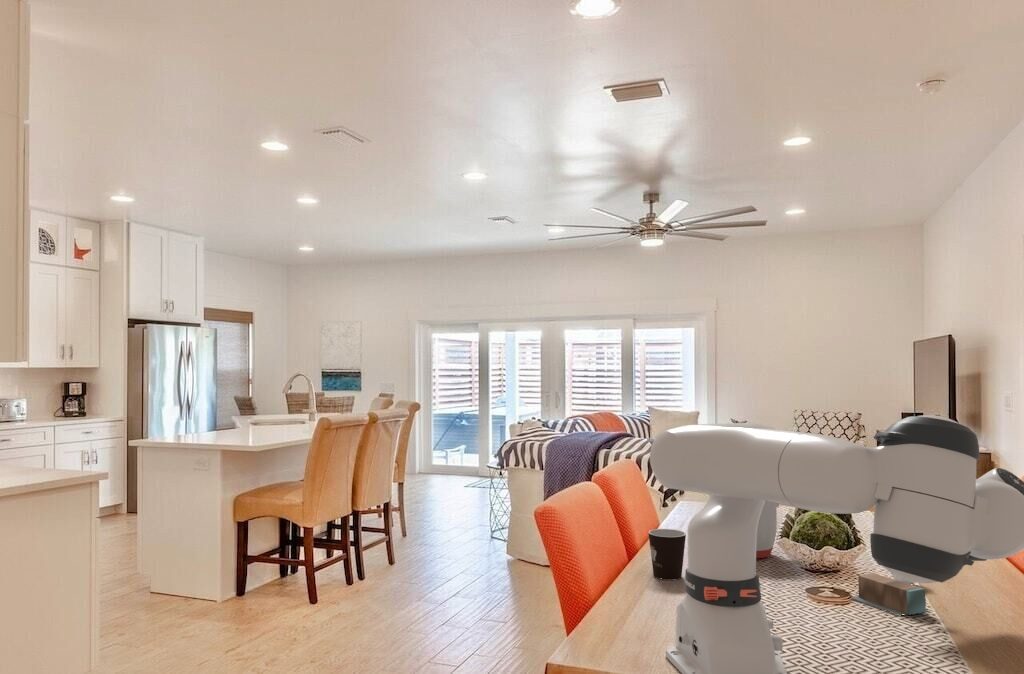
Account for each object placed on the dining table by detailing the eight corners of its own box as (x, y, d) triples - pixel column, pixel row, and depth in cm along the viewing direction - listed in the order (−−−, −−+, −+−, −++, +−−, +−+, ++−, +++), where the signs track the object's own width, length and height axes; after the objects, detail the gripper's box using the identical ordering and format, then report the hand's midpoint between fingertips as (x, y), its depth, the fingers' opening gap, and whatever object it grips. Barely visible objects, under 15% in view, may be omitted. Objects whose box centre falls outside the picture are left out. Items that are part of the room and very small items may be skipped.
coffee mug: (687, 582, 165) (686, 537, 166) (648, 580, 167) (648, 536, 167) (685, 568, 176) (685, 527, 177) (649, 566, 178) (648, 525, 179)
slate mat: (928, 611, 146) (928, 609, 146) (899, 616, 143) (899, 614, 143) (876, 594, 157) (876, 592, 157) (849, 598, 154) (849, 597, 154)
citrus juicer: (797, 558, 187) (795, 479, 188) (742, 564, 180) (741, 483, 181) (755, 544, 201) (754, 471, 202) (703, 550, 195) (702, 474, 196)
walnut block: (925, 588, 144) (873, 573, 155) (909, 591, 143) (858, 575, 154) (925, 611, 144) (874, 594, 155) (909, 614, 142) (858, 597, 153)
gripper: (929, 553, 130) (883, 593, 139) (1004, 542, 138) (956, 581, 147) (906, 523, 134) (863, 563, 143) (980, 514, 142) (935, 553, 151)
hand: (910, 572), depth 145 cm, fingers closed
